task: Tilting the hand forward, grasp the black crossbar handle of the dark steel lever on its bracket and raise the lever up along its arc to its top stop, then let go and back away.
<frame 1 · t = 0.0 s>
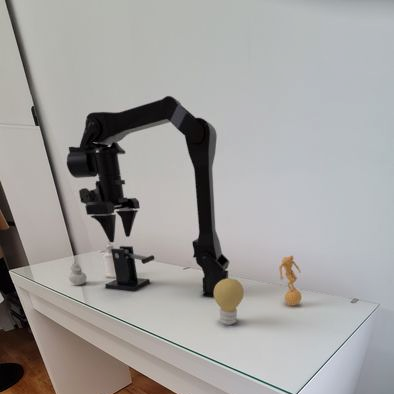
hand: (120, 239, 82), 15 cm above the table, tool pointing down, fingers open, 9 cm apart
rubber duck: (79, 284, 96), on the table
figurine: (288, 304, 73), on the table
bracket: (128, 285, 92), on the table
eye dropper bottle: (115, 277, 103), on the table
lever: (134, 256, 86), point 9 cm above the table, hinge at -8.0°
light bulb: (228, 323, 65), on the table
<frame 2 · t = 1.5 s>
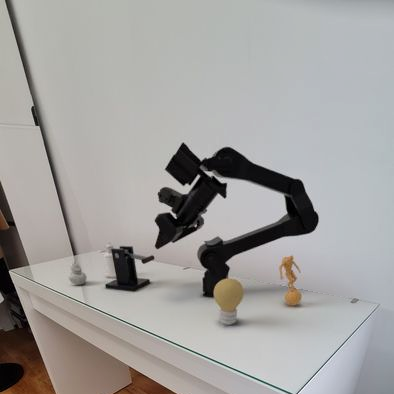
hand: (164, 244, 80), 13 cm above the table, tool tilted 45°, fingers open, 9 cm apart
nothing on the table moved.
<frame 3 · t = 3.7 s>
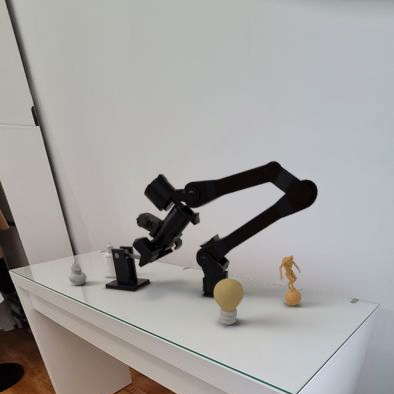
hand: (144, 263, 86), 7 cm above the table, tool tilted 45°, fingers closed on lever, 5 cm apart
lever: (134, 256, 86), point 9 cm above the table, hinge at -8.0°, touching gripper
everything else where it was.
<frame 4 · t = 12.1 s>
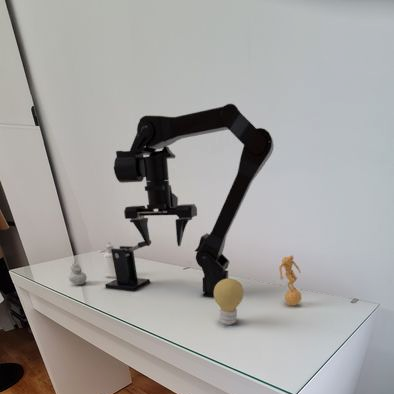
hand: (163, 245, 80), 13 cm above the table, tool pointing down, fingers open, 9 cm apart
lever: (132, 249, 85), point 11 cm above the table, hinge at 21.1°
everything else where it was.
at the end: lever at +21° (first picture: -8°); the gripper is holding nothing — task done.
